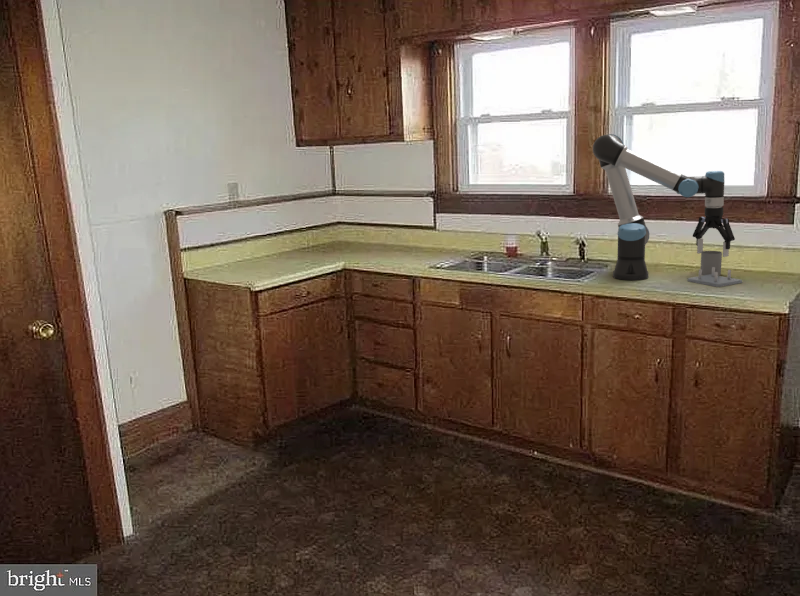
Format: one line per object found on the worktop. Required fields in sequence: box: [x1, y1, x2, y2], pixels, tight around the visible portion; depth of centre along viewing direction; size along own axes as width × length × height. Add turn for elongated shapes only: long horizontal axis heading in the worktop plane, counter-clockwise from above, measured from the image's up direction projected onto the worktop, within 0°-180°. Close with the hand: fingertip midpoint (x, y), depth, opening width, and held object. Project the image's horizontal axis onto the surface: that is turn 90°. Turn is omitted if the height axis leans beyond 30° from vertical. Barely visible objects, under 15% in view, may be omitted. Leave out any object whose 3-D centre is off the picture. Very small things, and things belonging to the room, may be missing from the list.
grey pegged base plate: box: [686, 267, 743, 288], centre depth 300 cm, size 16×14×5 cm
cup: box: [700, 250, 723, 276], centre depth 316 cm, size 8×8×10 cm
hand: (712, 254), depth 315 cm, fingers open, 13 cm apart
